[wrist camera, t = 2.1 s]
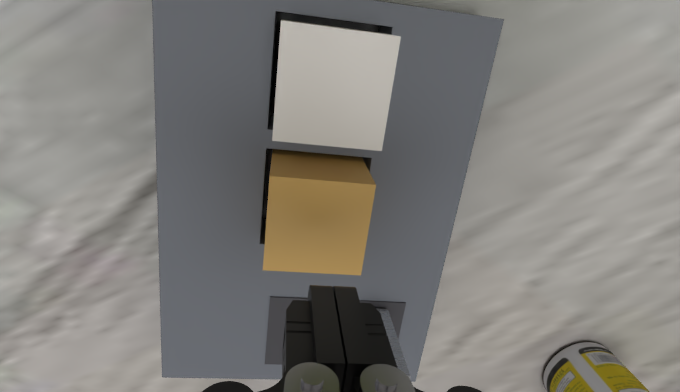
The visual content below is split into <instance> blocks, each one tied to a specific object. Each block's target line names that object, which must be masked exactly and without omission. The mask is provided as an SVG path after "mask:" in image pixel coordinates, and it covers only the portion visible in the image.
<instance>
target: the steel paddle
mask: <svg viewBox="0 0 680 392" xmlns="http://www.w3.org/2000/svg"><path fill="white" fill-rule="evenodd" d="M377 310H378V311H379V312H380V314H381V317H382V320H383V323H384V327H385V329H386V333H387V336H388V339H389V342H390V345H391V348H392V352H393V355H394V358H395V361H396V364H397V367H398V369H400V370H401V371H403V372H404V373H405V374H406V375H407V376H408V377H409V379H410V377H411V376H410V373H409V370H408V367H407V364H406V361H405V358H404V355H403V352H402V349H401V346H400V343H399V341H398V338H397V335H396V332H395V329H394V326H393V323H392V320H391V317H390V314H389V311H388V309H377Z"/></svg>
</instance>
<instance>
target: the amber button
mask: <svg viewBox="0 0 680 392" xmlns="http://www.w3.org/2000/svg"><path fill="white" fill-rule="evenodd" d="M375 189H376V184H375V182H374V180H373V178H372V176H371V174H370V172H369V170H368V168H367V166H366V164H365V162H364V160H363V158H362V157H355V156H344V155H333V154H323V153H312V152H301V151H290V150H279V149H273V151H272V160H271V168H270V177H269V191H268V204H267V218H266V232H265V246H264V259H263V270H266V271H285V272H304V273H323V274H343V275H361V272H362V266H363V260H364V254H365V249H366V243H367V237H368V231H369V225H370V219H371V213H372V207H373V201H374V195H375Z"/></svg>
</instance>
